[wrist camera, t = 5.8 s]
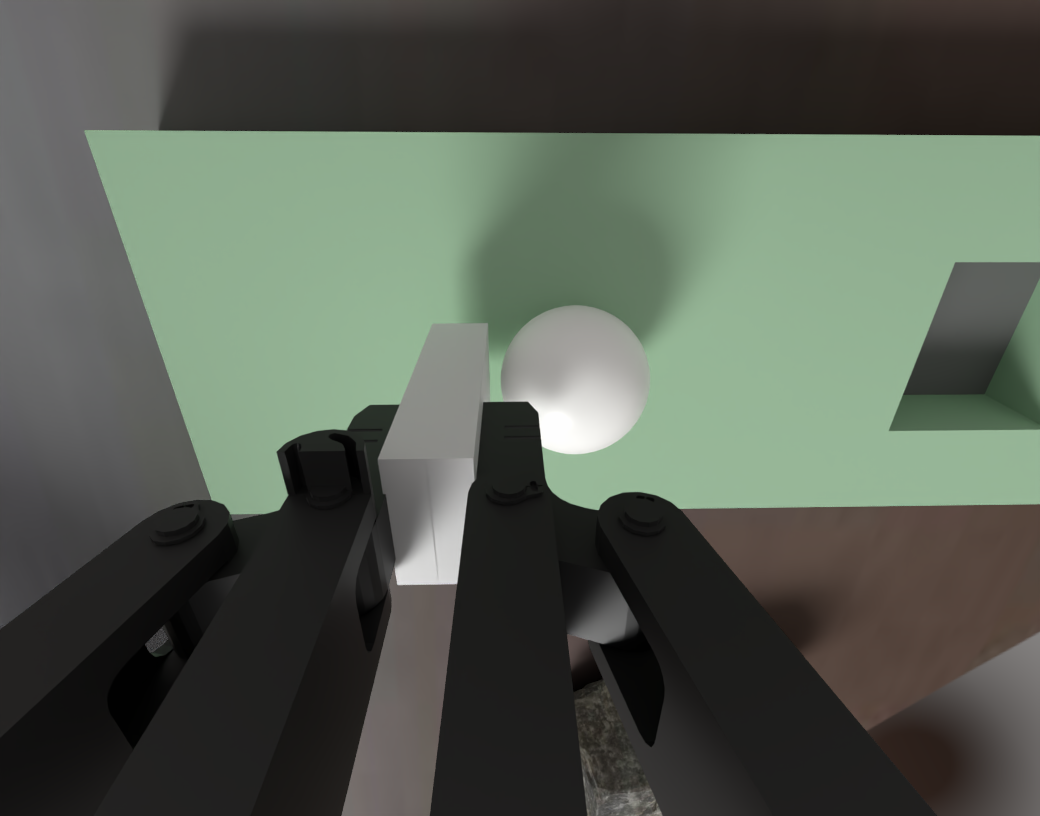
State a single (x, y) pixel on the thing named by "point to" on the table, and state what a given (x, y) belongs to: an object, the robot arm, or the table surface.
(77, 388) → the table surface
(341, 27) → the table surface
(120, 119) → the table surface
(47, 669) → the robot arm
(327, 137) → the green
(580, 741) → the stone
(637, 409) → the ball
